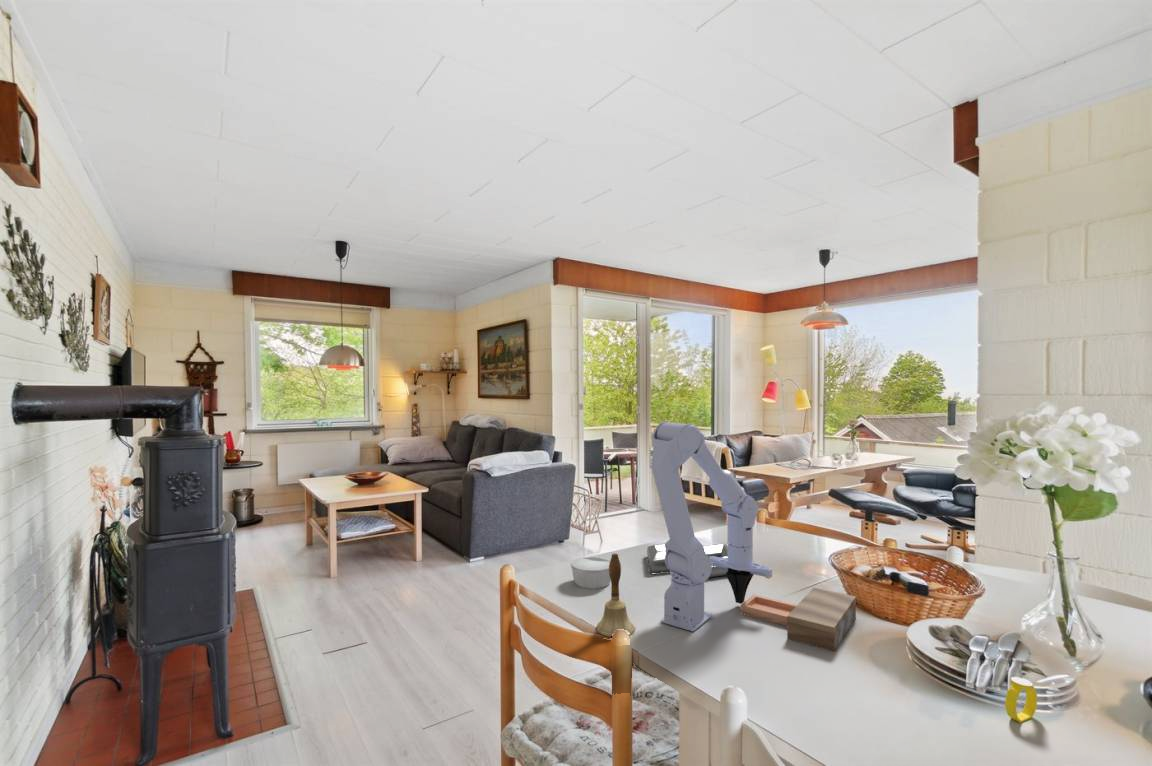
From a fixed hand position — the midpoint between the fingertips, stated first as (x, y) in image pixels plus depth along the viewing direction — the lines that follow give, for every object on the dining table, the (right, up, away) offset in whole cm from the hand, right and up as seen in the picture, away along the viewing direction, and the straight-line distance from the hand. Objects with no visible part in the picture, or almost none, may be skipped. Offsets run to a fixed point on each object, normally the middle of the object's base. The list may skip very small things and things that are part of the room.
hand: (739, 601), depth 130 cm
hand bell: (-30, -1, -12) cm, 33 cm away
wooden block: (+15, -1, -11) cm, 19 cm away
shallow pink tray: (+6, -1, -5) cm, 8 cm away
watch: (+31, -1, -43) cm, 54 cm away
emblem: (-6, -2, +30) cm, 30 cm away
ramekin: (-34, -1, +15) cm, 38 cm away
